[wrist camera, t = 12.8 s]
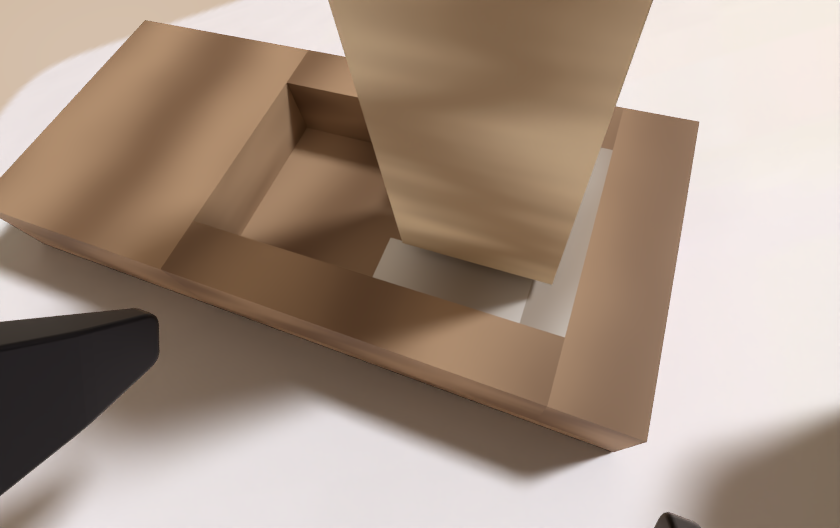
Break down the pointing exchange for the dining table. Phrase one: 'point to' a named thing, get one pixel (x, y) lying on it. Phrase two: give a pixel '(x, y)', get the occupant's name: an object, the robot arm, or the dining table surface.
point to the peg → (489, 116)
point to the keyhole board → (355, 229)
